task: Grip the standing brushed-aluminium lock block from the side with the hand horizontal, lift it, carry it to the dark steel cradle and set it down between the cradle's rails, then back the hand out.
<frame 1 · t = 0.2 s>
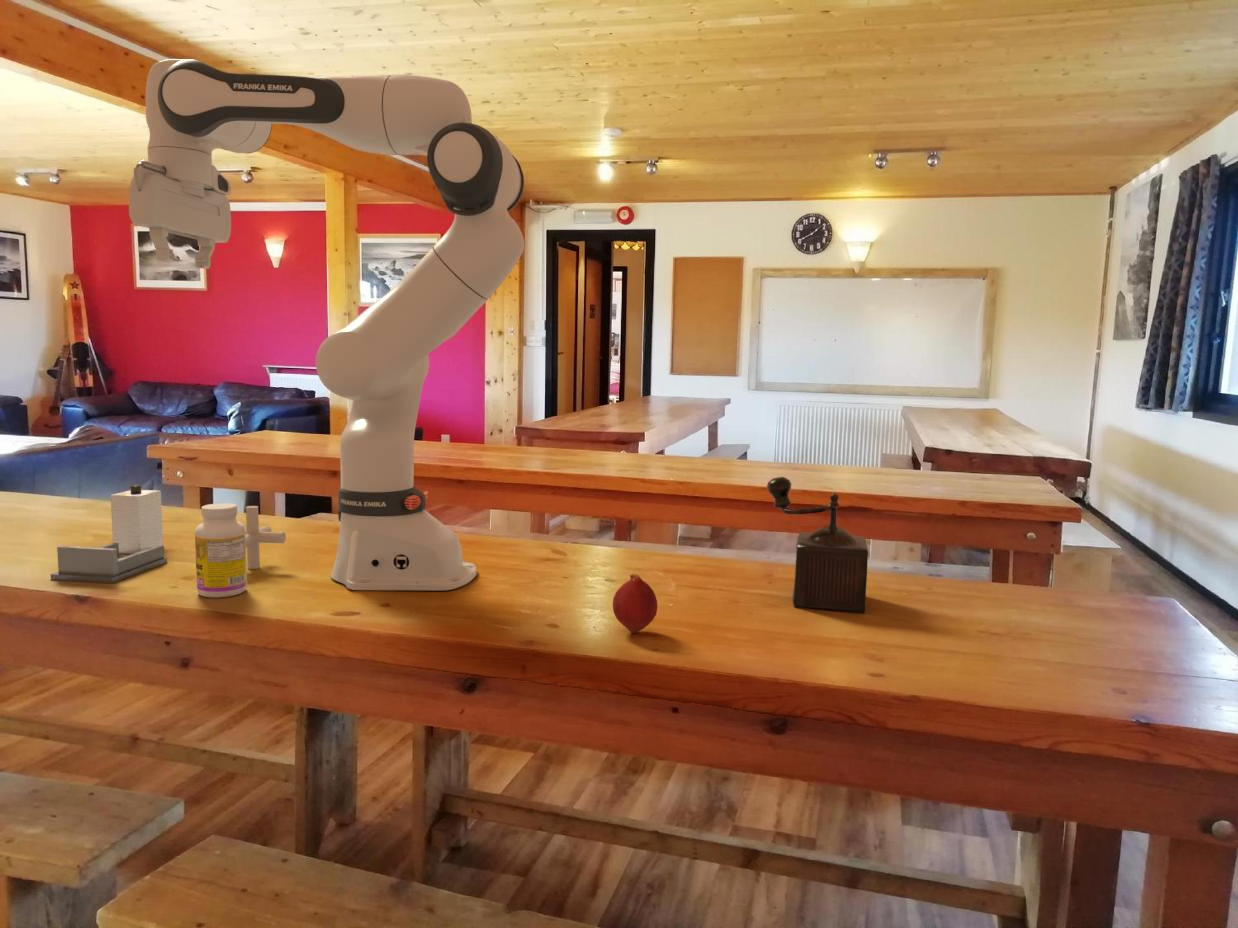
hand: (184, 264, 135), 48 cm above the table, tool pointing down, fingers open, 8 cm apart
pipe connector: (253, 568, 140), on the table
onion: (634, 634, 114), on the table
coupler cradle: (113, 569, 137), on the table
supplement bottle: (222, 593, 126), on the table
manual coffee grinder: (811, 600, 132), on the table
lock block: (138, 549, 150), on the table
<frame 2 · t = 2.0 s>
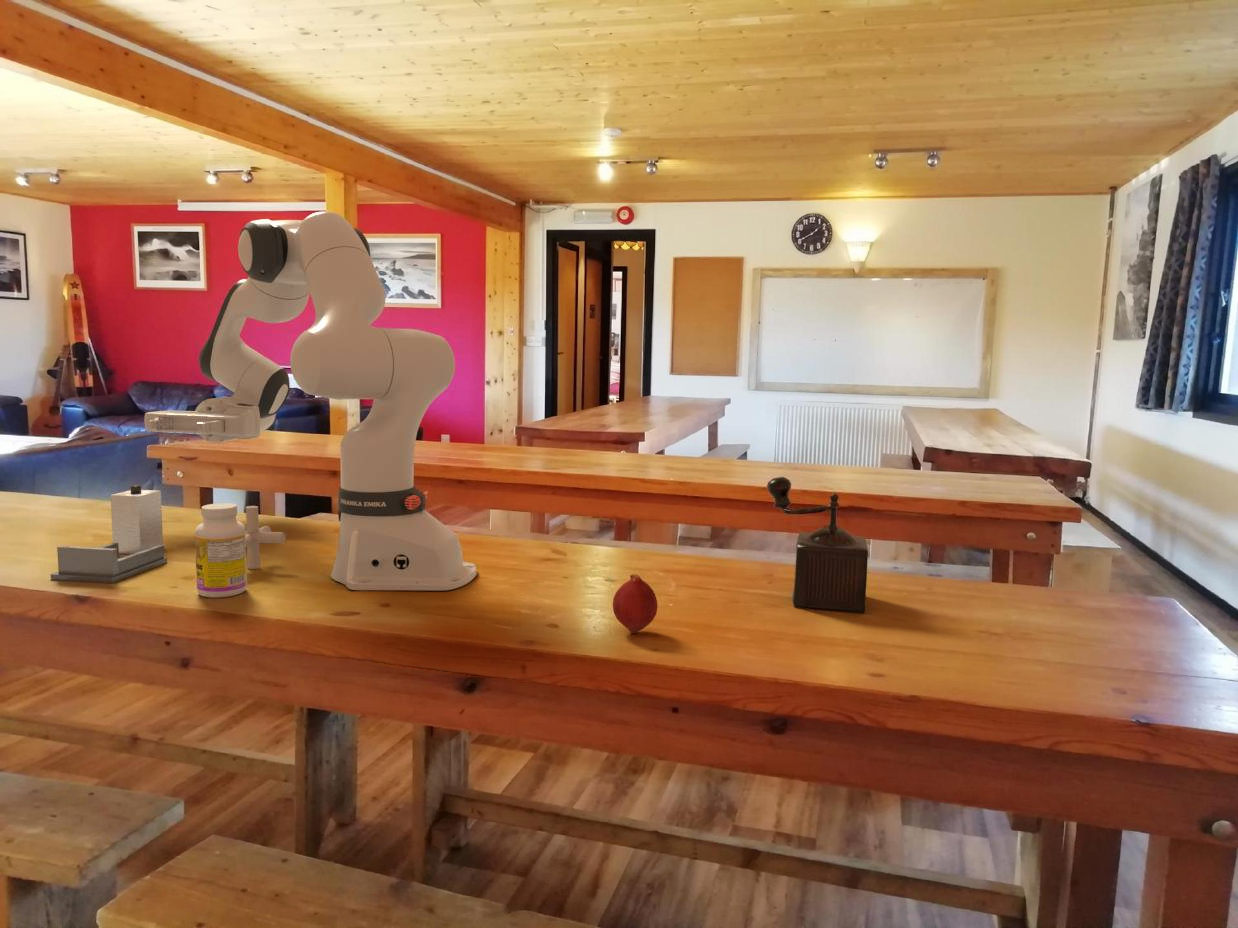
hand: (176, 426, 159), 20 cm above the table, tool horizontal, fingers open, 8 cm apart
nothing on the table moved.
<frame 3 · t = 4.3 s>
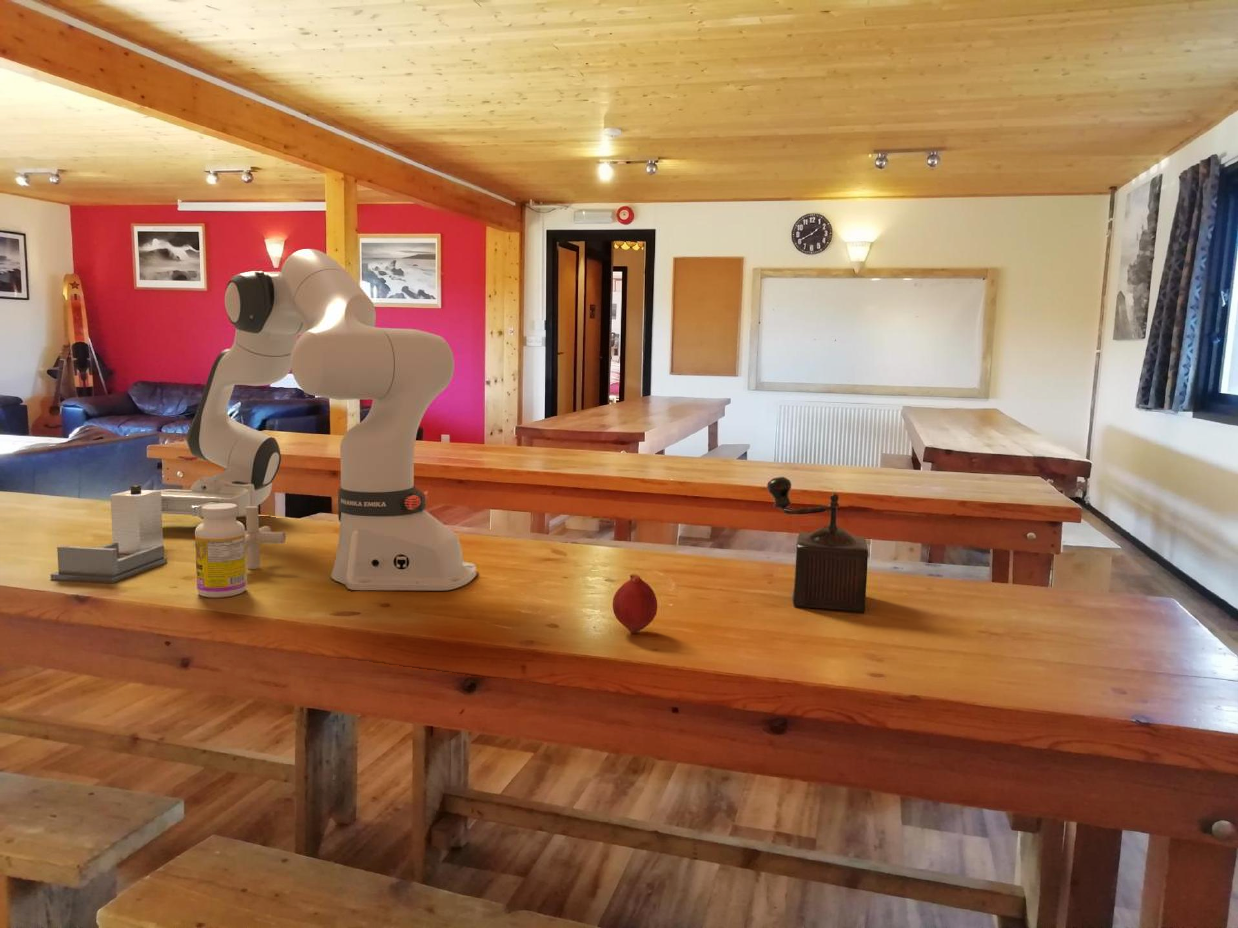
hand: (170, 510, 158), 5 cm above the table, tool horizontal, fingers open, 8 cm apart
nothing on the table moved.
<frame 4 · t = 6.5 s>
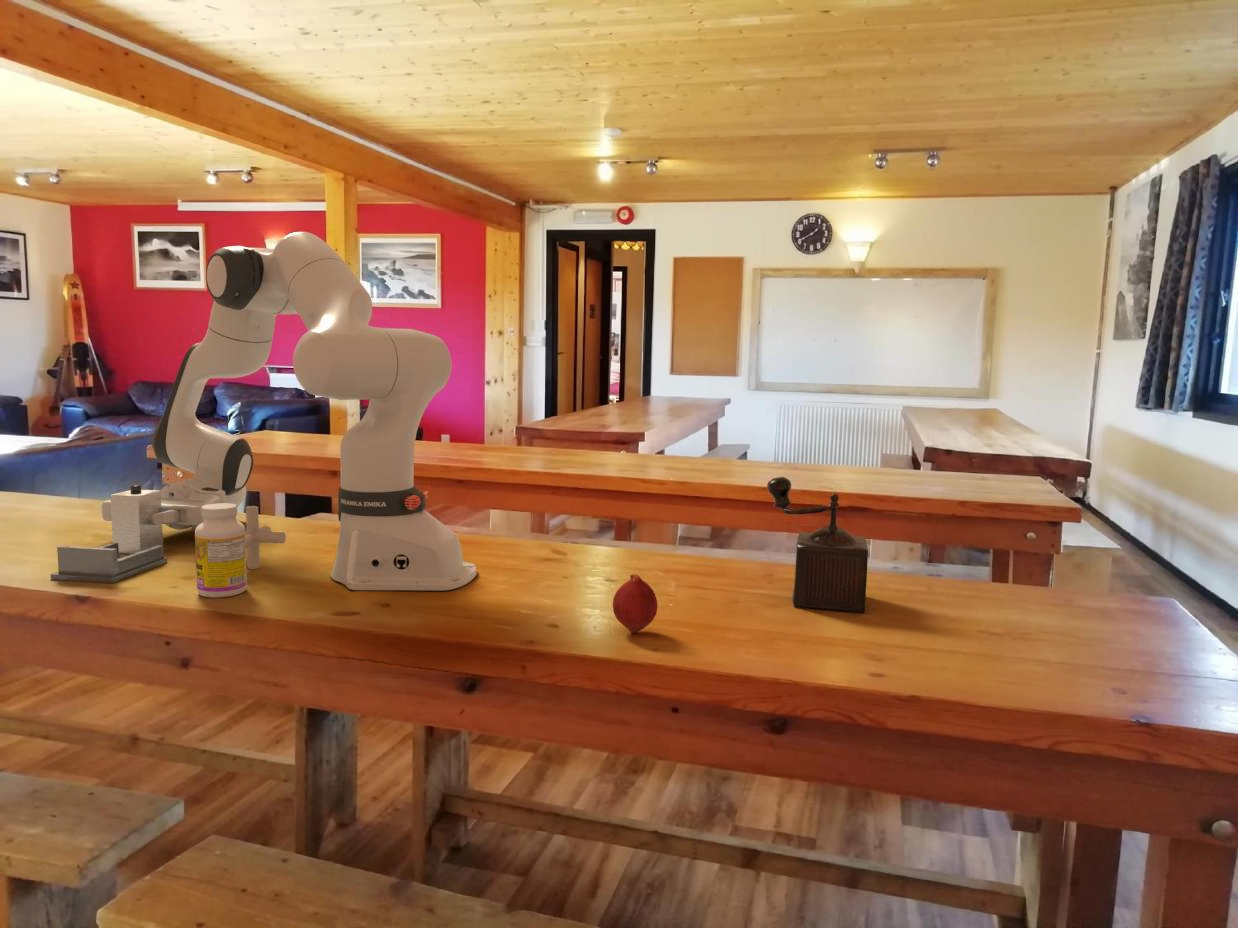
hand: (133, 519, 148), 6 cm above the table, tool horizontal, fingers closed on lock block, 5 cm apart
lock block: (138, 549, 150), on the table, touching gripper
everything else where it was.
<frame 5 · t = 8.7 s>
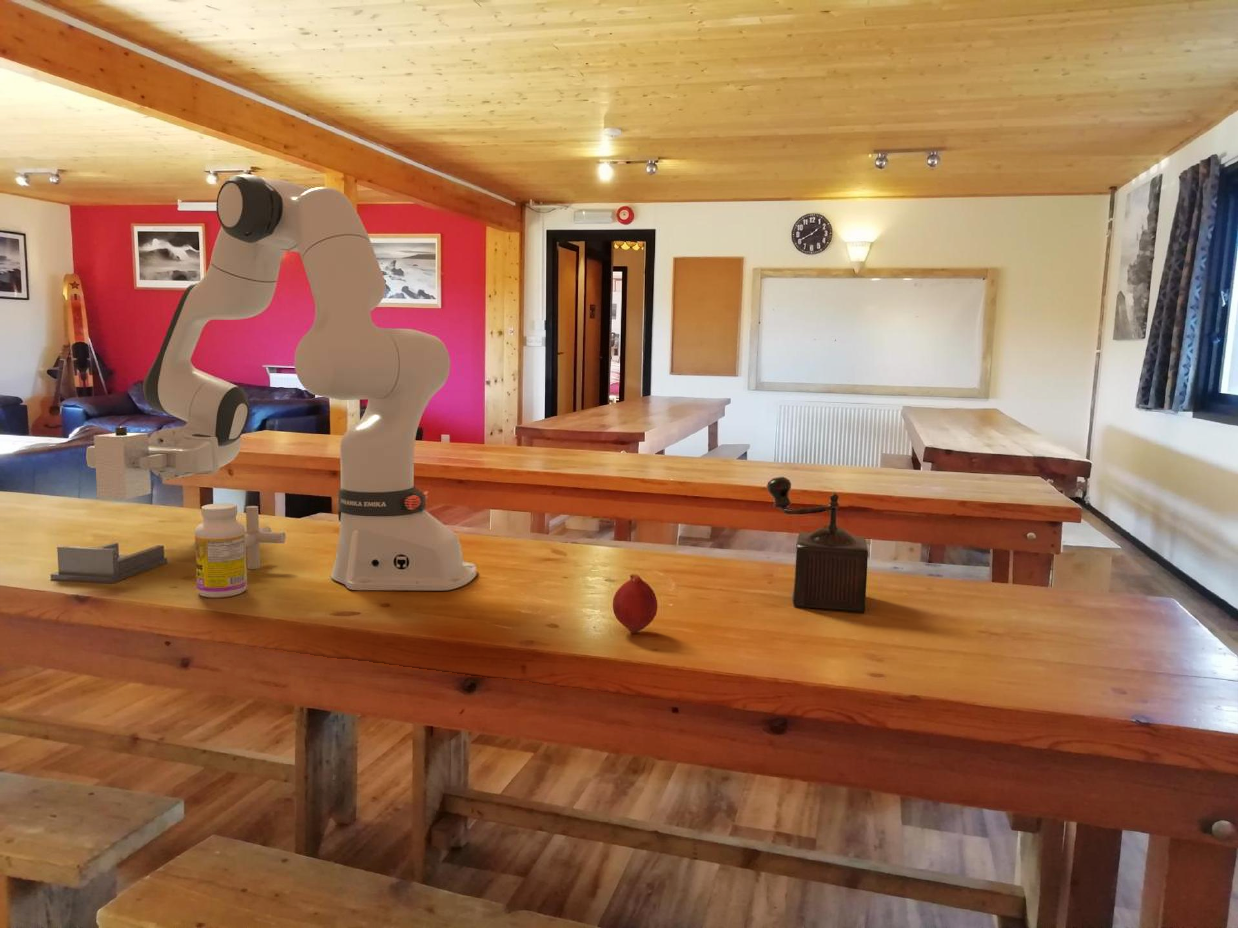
hand: (119, 462, 140), 16 cm above the table, tool horizontal, fingers closed on lock block, 5 cm apart
lock block: (124, 495, 141), point 11 cm above the table, touching gripper
everything else where it was.
when the fingers open (8 cm above the table, at t = 11.2 s): lock block drops 2 cm, resting on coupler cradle.
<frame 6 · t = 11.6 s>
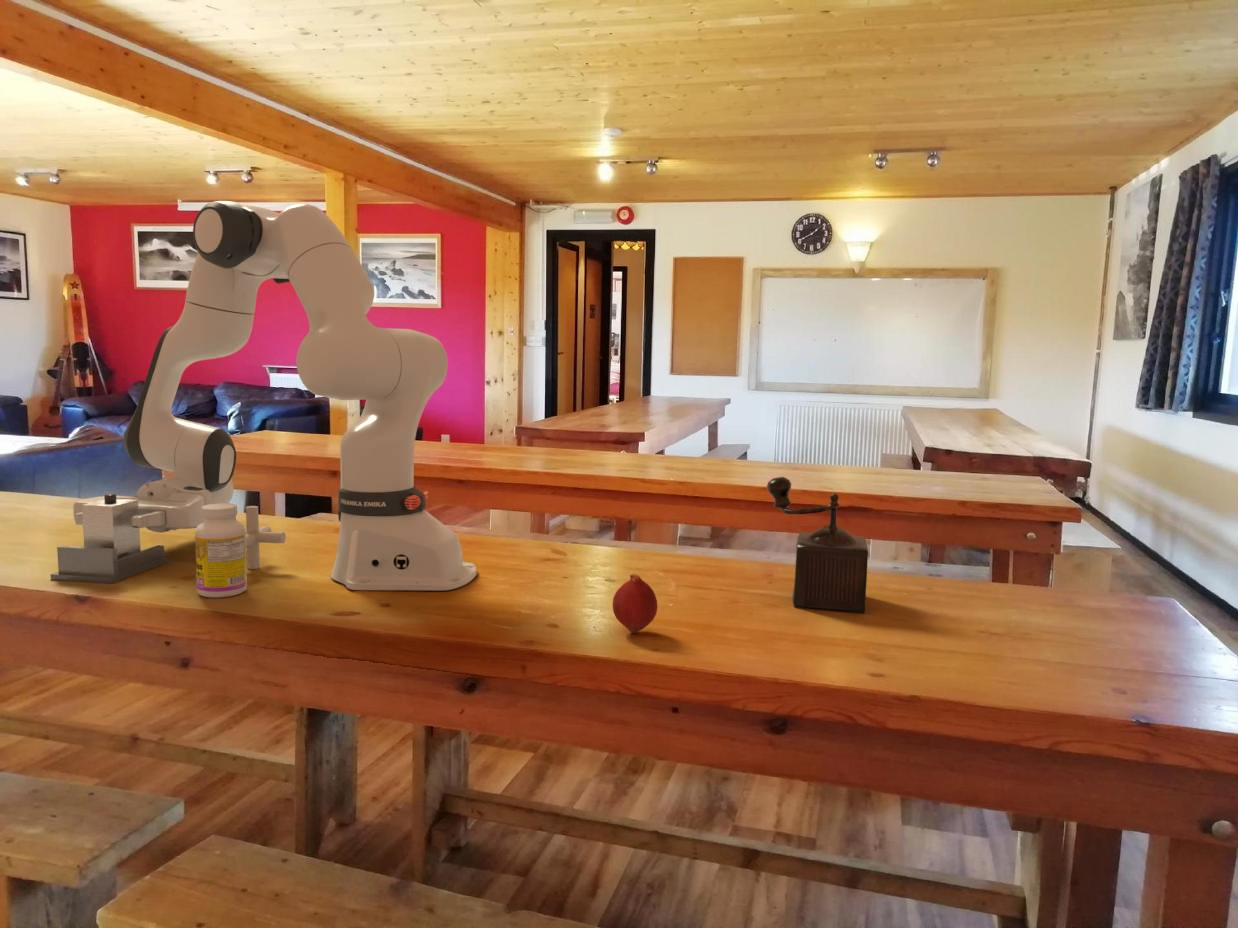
hand: (107, 521, 135), 8 cm above the table, tool horizontal, fingers open, 8 cm apart
lock block: (113, 564, 137), point 1 cm above the table, touching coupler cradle
everything else where it was.
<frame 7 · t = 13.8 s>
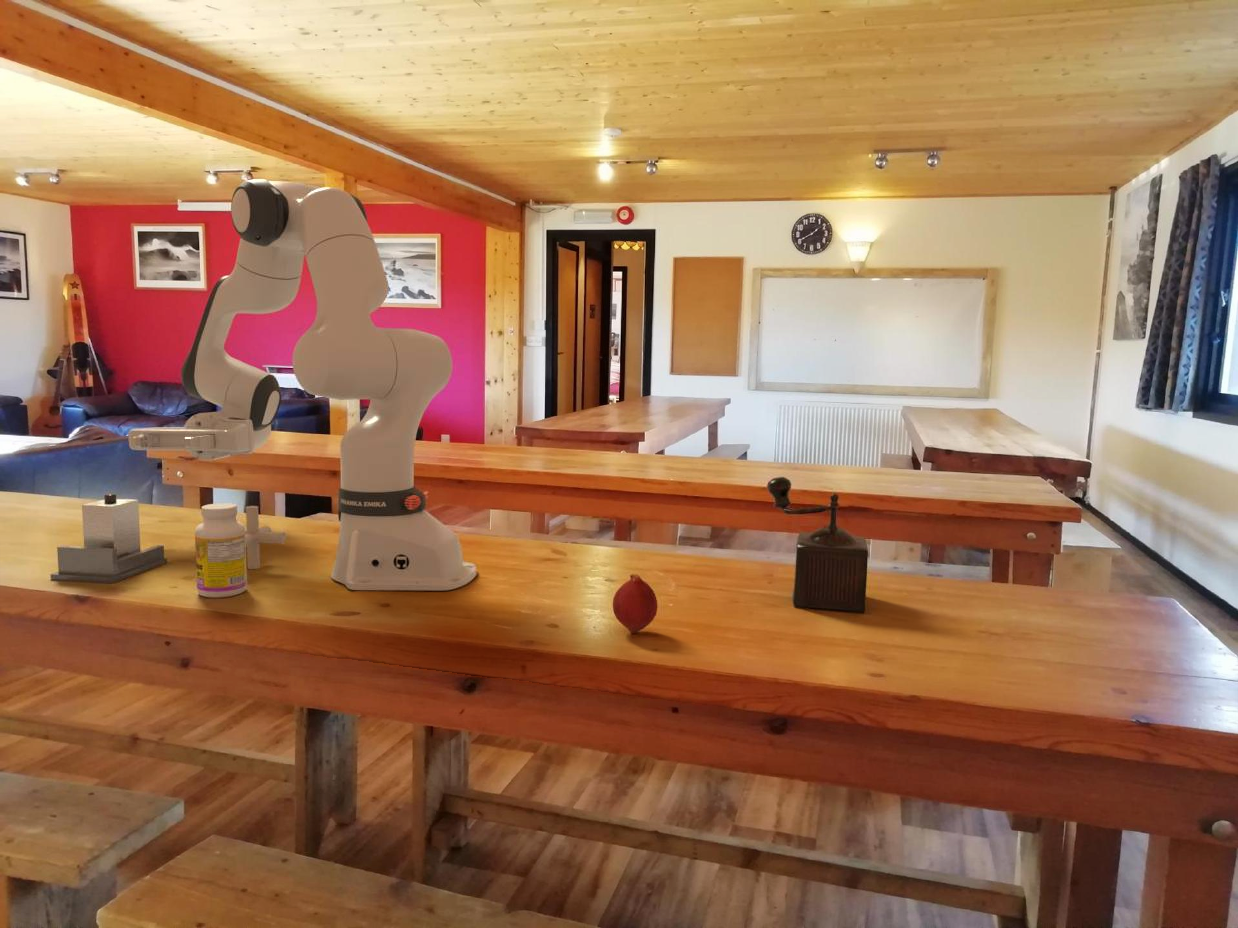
hand: (162, 442, 147), 19 cm above the table, tool horizontal, fingers open, 8 cm apart
nothing on the table moved.
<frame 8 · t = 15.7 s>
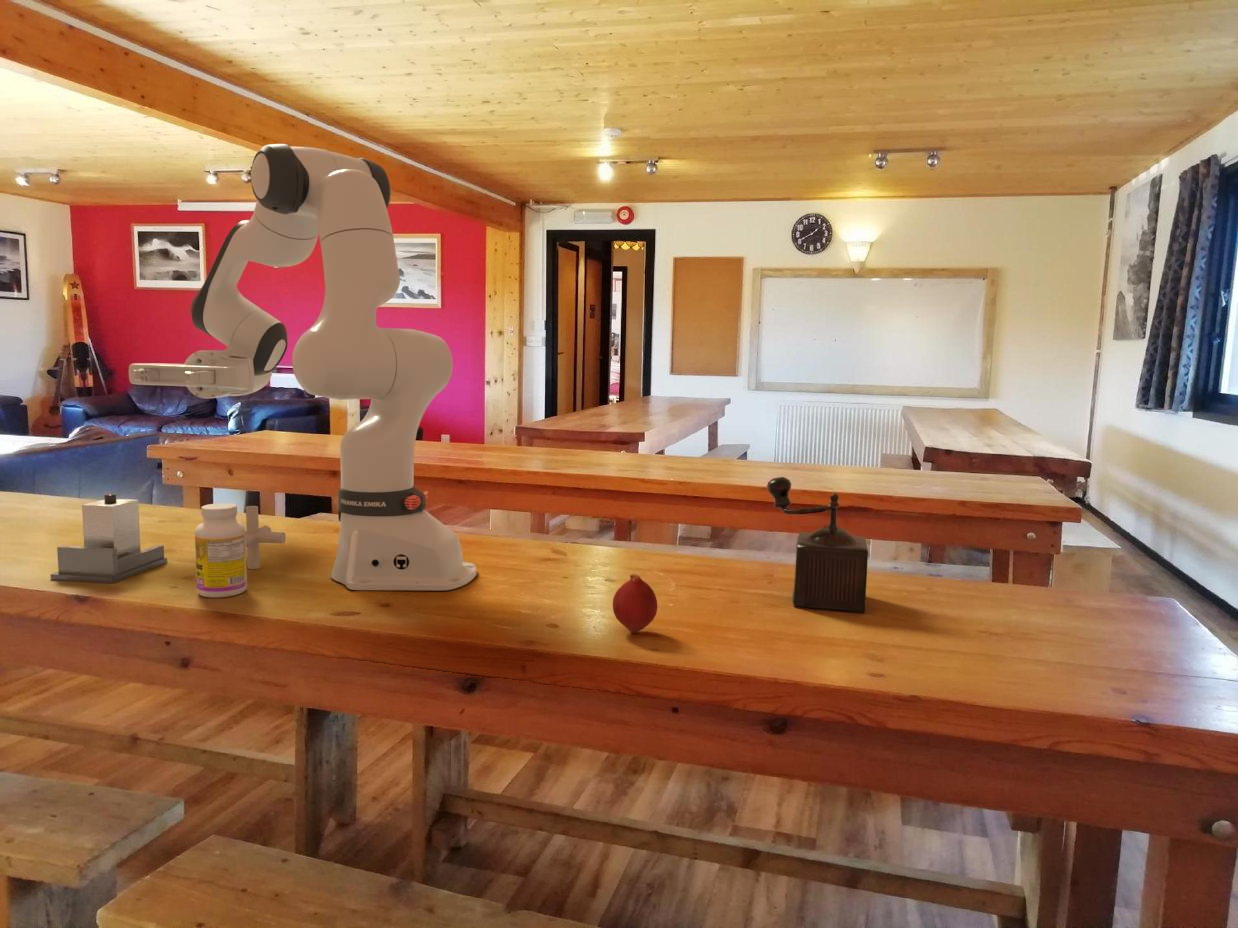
hand: (162, 376, 147), 30 cm above the table, tool horizontal, fingers open, 8 cm apart
nothing on the table moved.
at the end: lock block inside the target area on the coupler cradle (0.2 cm from its centre), point 0.8 cm above the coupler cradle's base; lock block tilted 0°; the gripper is holding nothing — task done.
